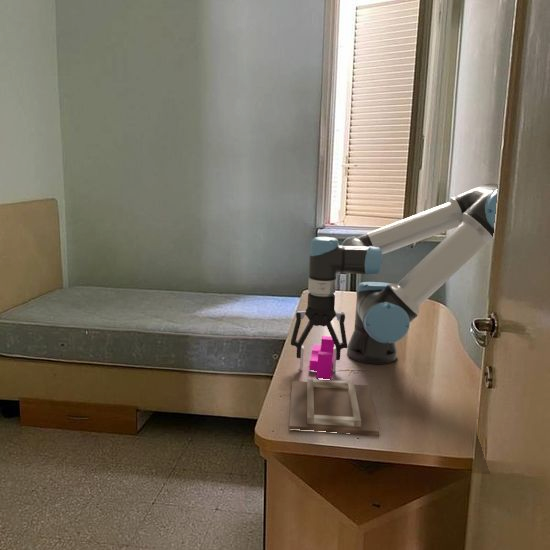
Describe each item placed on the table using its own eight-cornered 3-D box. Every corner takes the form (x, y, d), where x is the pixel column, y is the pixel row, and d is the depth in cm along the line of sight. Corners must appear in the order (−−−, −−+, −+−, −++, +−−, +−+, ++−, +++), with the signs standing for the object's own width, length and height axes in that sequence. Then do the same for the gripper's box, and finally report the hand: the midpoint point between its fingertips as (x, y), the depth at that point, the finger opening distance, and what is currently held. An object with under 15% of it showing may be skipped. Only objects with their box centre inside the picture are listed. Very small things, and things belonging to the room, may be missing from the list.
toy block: (312, 358, 162) (313, 335, 160) (333, 360, 161) (334, 337, 159) (307, 379, 147) (308, 353, 146) (330, 381, 146) (331, 355, 145)
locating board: (367, 389, 142) (368, 379, 141) (379, 436, 119) (380, 425, 118) (292, 385, 143) (292, 375, 142) (288, 430, 120) (289, 419, 119)
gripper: (282, 294, 145) (279, 372, 150) (361, 298, 144) (356, 376, 149) (283, 287, 152) (280, 362, 157) (359, 291, 151) (353, 366, 156)
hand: (317, 369), depth 153 cm, fingers open, 8 cm apart
